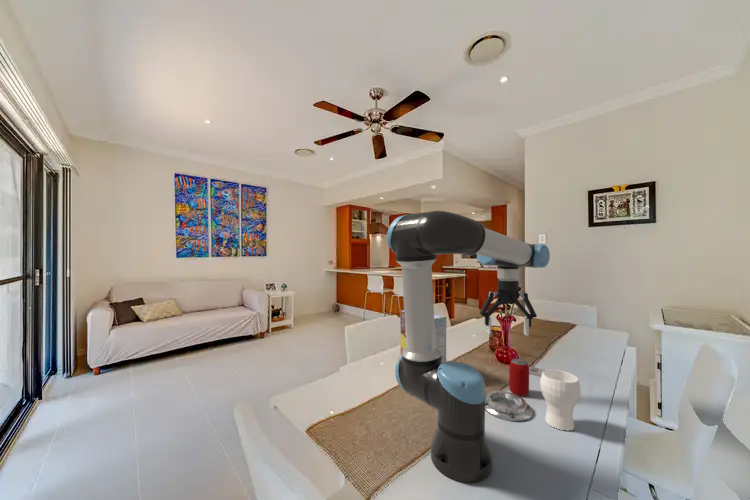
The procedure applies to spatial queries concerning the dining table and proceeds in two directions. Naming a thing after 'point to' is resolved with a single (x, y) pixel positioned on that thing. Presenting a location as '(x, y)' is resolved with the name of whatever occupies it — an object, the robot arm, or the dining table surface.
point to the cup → (560, 397)
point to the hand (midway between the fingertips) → (507, 334)
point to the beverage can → (519, 377)
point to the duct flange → (507, 406)
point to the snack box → (439, 333)
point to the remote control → (535, 371)
